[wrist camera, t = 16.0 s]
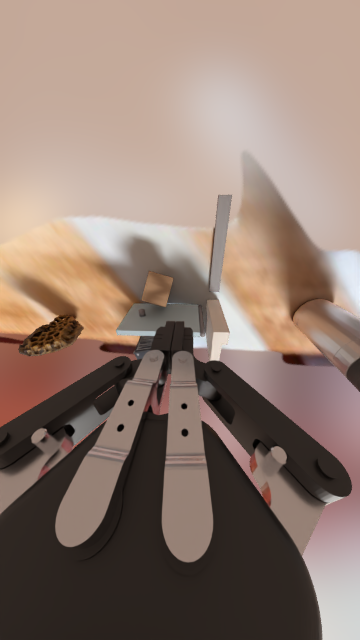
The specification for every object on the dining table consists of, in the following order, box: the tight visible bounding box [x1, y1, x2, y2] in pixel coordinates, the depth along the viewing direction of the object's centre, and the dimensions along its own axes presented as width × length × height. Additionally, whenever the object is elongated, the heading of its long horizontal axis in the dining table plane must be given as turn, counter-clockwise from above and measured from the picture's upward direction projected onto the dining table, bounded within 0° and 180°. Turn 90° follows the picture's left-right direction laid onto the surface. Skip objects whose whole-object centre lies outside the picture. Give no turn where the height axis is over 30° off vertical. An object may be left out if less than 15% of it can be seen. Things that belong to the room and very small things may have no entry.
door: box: [116, 303, 205, 337], centre depth 36 cm, size 3×18×12 cm, turn 91°
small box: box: [134, 336, 154, 359], centre depth 44 cm, size 11×6×10 cm, turn 103°
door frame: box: [206, 195, 232, 361], centre depth 32 cm, size 3×32×14 cm, turn 1°
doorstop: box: [142, 271, 173, 308], centre depth 35 cm, size 5×8×6 cm
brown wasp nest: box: [18, 315, 83, 356], centre depth 40 cm, size 11×4×15 cm, turn 93°
